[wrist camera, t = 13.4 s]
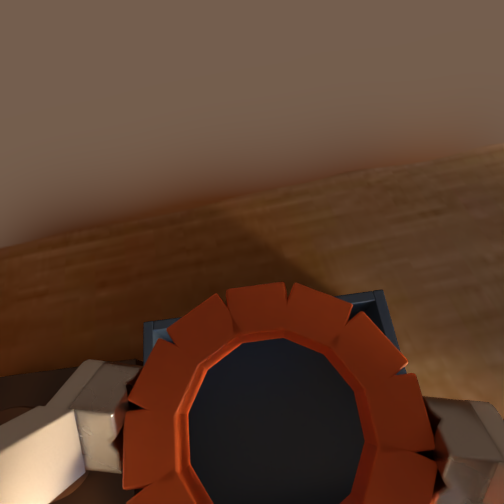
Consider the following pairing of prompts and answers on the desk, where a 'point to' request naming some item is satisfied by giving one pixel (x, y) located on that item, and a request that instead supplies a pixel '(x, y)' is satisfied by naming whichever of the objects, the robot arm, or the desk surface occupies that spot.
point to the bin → (277, 419)
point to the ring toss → (39, 394)
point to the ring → (303, 333)
